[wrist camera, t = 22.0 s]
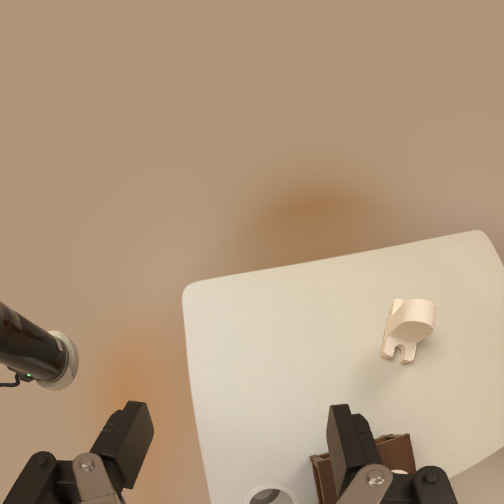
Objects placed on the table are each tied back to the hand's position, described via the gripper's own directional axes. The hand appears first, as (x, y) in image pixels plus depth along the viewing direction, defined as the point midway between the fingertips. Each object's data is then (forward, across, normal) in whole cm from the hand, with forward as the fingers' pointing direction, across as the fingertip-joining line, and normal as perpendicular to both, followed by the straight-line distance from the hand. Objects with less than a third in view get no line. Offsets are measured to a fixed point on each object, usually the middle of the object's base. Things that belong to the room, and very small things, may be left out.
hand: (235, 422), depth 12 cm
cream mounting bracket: (+33, -23, +15) cm, 43 cm away
